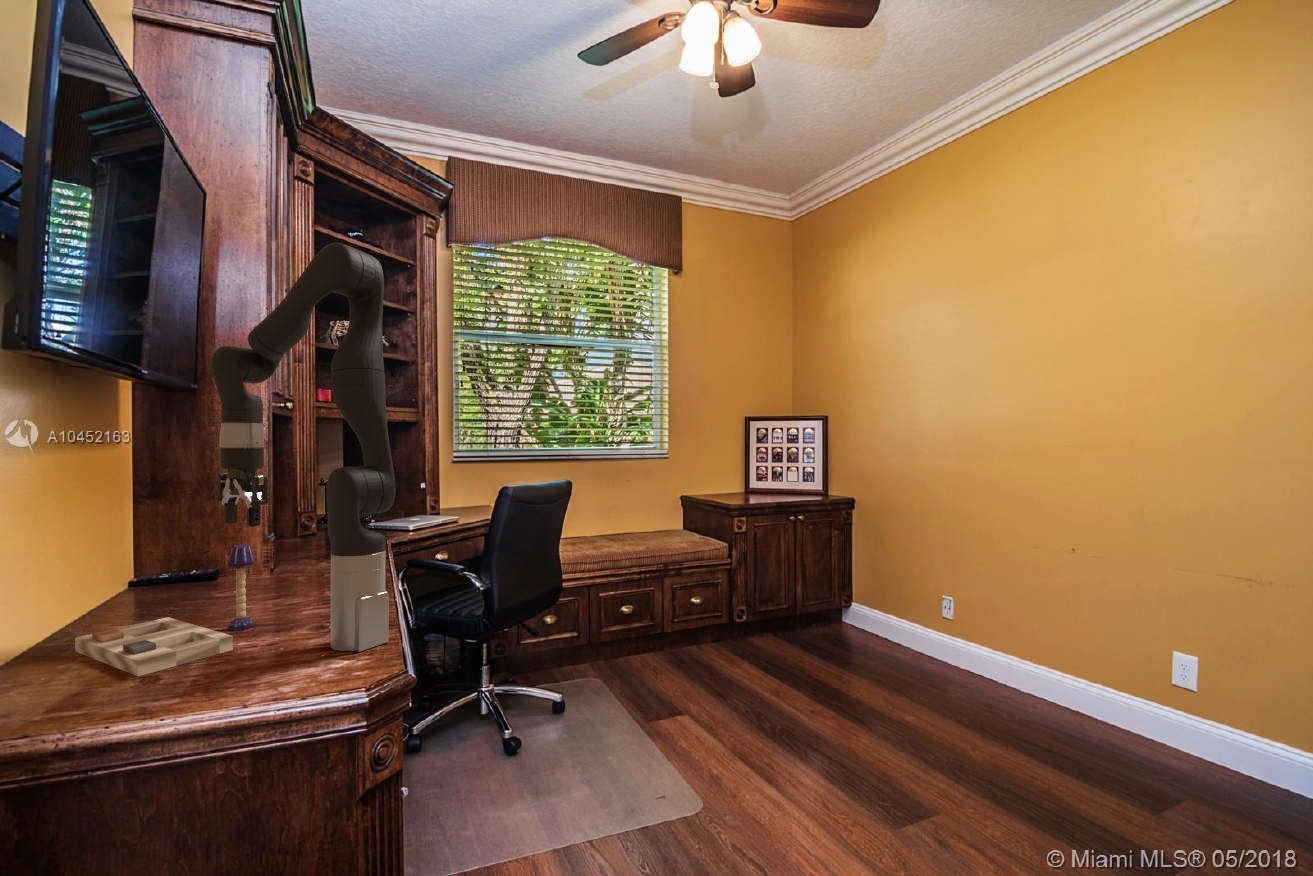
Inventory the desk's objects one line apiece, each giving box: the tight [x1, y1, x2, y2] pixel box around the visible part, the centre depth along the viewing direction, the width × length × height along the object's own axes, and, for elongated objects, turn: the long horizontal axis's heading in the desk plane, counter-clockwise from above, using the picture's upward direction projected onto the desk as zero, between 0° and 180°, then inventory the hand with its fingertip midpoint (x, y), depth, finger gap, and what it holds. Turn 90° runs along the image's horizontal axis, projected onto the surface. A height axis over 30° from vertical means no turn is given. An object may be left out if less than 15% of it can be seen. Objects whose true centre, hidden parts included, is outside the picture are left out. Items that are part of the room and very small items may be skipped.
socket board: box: [74, 616, 234, 677], centre depth 108 cm, size 24×14×4 cm, turn 62°
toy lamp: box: [227, 544, 256, 631], centre depth 122 cm, size 5×5×17 cm
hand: (241, 524), depth 122 cm, fingers open, 8 cm apart
